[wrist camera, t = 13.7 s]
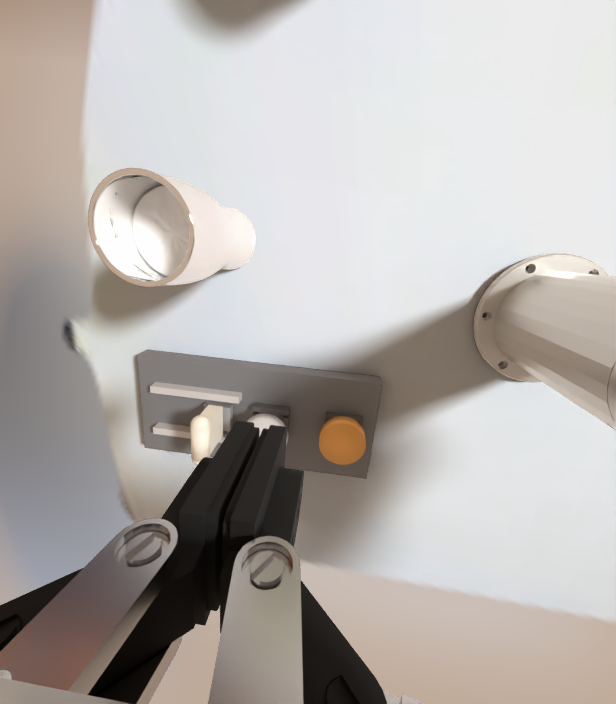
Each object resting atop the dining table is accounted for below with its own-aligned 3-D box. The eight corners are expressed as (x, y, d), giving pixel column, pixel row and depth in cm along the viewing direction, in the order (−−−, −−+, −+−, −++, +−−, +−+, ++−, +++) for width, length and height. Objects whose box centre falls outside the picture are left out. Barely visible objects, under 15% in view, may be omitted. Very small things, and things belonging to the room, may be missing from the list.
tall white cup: (250, 283, 34) (184, 306, 20) (188, 260, 34) (77, 267, 20) (269, 216, 32) (209, 188, 18) (203, 191, 32) (90, 144, 18)
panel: (380, 376, 36) (383, 388, 33) (365, 467, 39) (367, 485, 36) (147, 349, 38) (130, 358, 35) (153, 438, 41) (138, 453, 38)
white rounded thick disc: (291, 412, 34) (287, 424, 31) (288, 451, 35) (284, 466, 33) (246, 406, 34) (239, 418, 32) (245, 445, 36) (238, 459, 33)
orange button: (367, 414, 35) (368, 427, 32) (361, 452, 36) (362, 467, 34) (322, 409, 35) (321, 421, 33) (318, 447, 37) (316, 461, 34)
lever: (232, 395, 36) (211, 422, 30) (232, 437, 37) (211, 471, 32) (206, 391, 36) (180, 418, 30) (207, 434, 38) (182, 467, 32)
